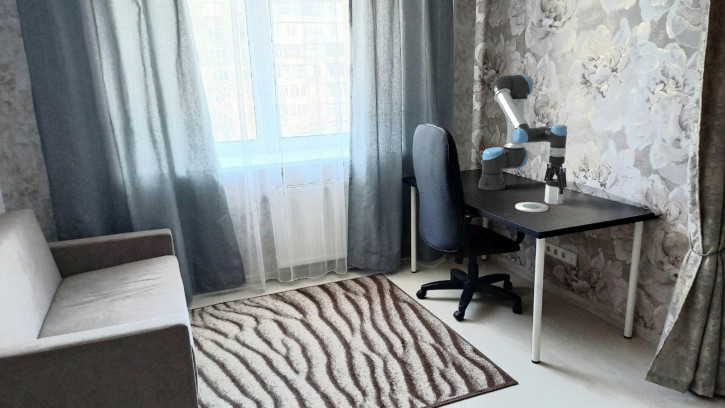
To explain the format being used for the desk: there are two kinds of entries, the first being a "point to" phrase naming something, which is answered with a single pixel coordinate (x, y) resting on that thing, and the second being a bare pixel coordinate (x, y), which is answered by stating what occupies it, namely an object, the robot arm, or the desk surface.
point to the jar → (552, 192)
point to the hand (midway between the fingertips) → (553, 197)
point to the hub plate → (531, 207)
